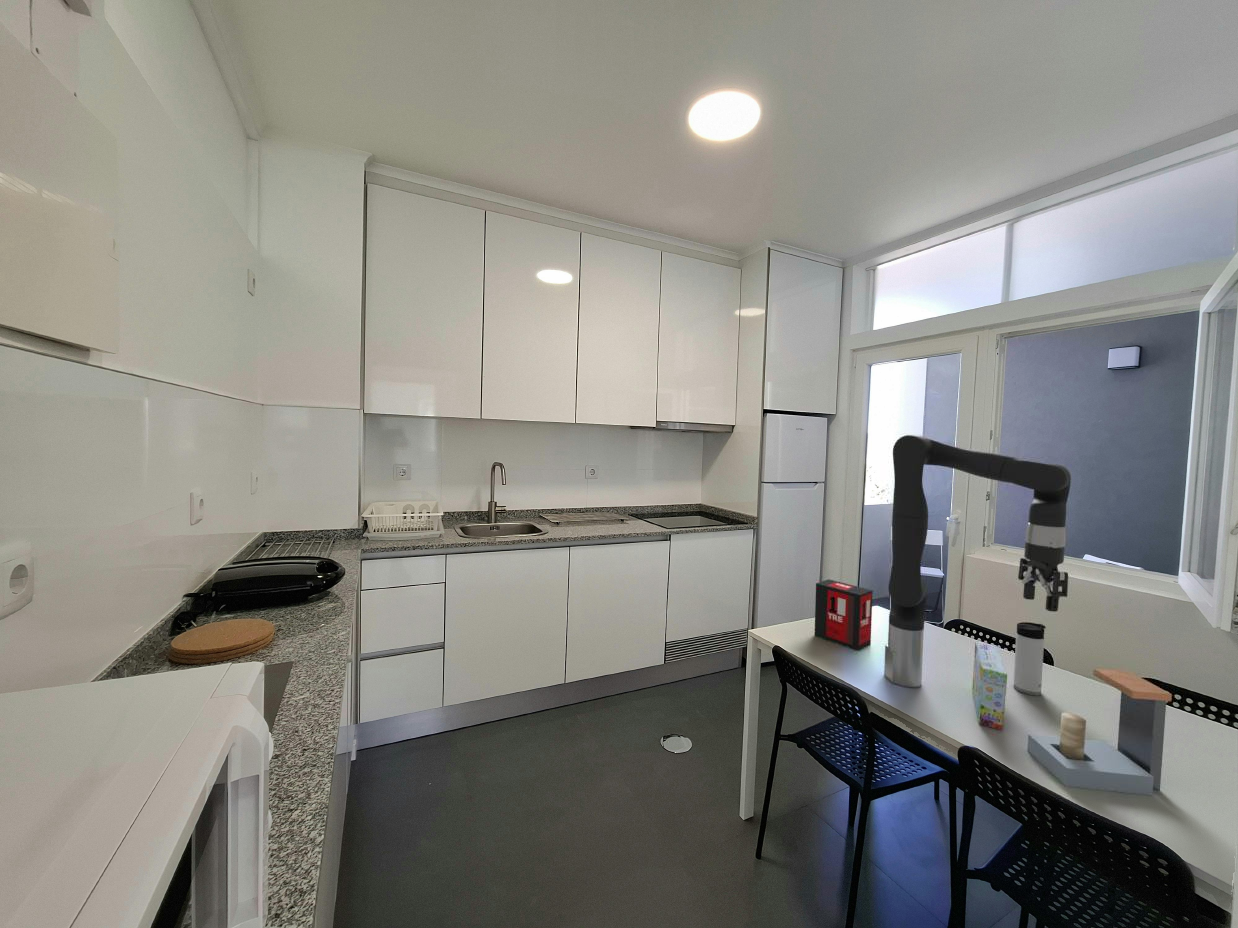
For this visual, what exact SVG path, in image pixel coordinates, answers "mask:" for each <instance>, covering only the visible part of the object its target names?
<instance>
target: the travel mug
mask: <svg viewBox="0 0 1238 928" xmlns="http://www.w3.org/2000/svg"><path fill="white" fill-rule="evenodd" d="M1045 629H1046V626H1045V625H1044V624H1042V623H1036V622H1035V623H1034V622H1028V621H1026V622H1025V621H1024V622H1018V623H1016V631H1015V632H1016V633H1015V648H1014V649H1015V650H1014V651H1015V653H1014V669H1013V671H1014V672H1013V685H1012V687H1013V688H1014V689H1015V690H1016V691H1018V692H1020V693H1023V694H1025V695H1030V696H1039V695H1042V682H1043V667H1044V650H1045V649H1044V647H1045V636H1044V635H1045Z"/></svg>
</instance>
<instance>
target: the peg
mask: <svg viewBox="0 0 1238 928" xmlns="http://www.w3.org/2000/svg"><path fill="white" fill-rule="evenodd" d="M1060 719H1061V720H1060V731H1059V737H1060V746H1059V753H1061V754H1062V755H1063V756H1064V757H1065V758H1066V759H1071V760H1081V761H1084V745H1085V739H1086V731H1087V730H1086V726H1087V721H1086V719H1085V718H1084V717H1082V716H1080V715H1078V714H1075V713H1071V712H1062V713H1061V717H1060Z"/></svg>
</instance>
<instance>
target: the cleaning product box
mask: <svg viewBox="0 0 1238 928" xmlns="http://www.w3.org/2000/svg"><path fill="white" fill-rule="evenodd" d="M814 603H815V605H814V606H815V608H814V637H817V638H821V639H823V640H825V641H829V642H831V643H834V644H836V645H839V646H842V647H845V648H848V649H851V650H853V651H856V652H860V651H862V650H863V649H865V648H868V647H869V646H871V644H872V643H871V642H872V640H871V639H872V618H873V617H872V615H873V589H868V588H865V587H861V586H857V585H853V584H848V583H845V582H841V581H837V580H832V579H826V580H821V581H819V582H817V583H815V601H814Z"/></svg>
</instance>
